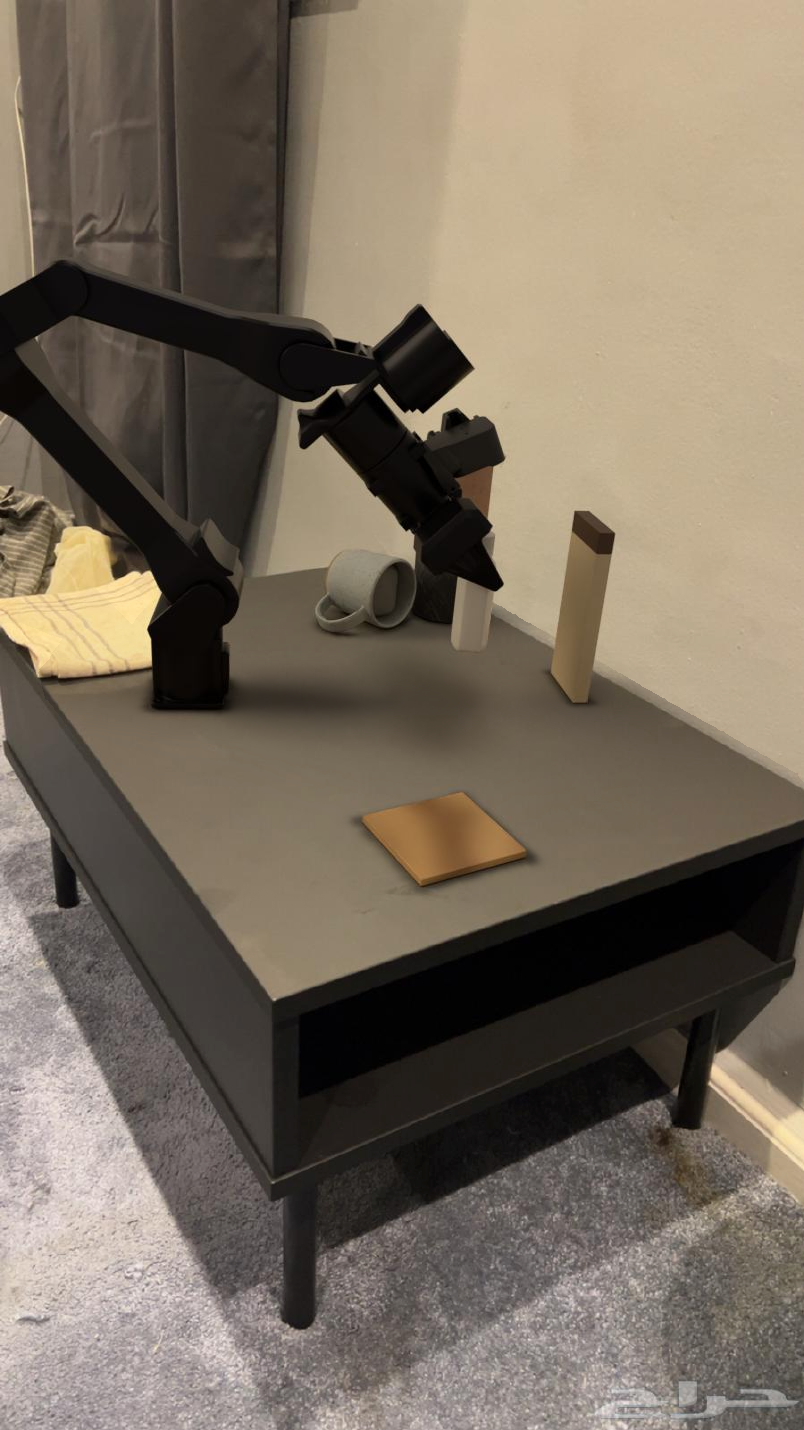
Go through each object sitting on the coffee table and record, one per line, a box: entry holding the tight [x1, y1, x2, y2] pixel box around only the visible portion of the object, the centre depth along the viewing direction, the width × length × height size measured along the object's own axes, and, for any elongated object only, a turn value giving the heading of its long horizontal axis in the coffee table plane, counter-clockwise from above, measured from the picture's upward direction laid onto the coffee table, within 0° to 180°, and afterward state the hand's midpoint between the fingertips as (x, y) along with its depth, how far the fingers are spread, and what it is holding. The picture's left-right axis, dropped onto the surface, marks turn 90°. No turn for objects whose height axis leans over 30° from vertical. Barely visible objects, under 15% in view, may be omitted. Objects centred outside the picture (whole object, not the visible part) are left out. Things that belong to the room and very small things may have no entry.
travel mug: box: [412, 430, 495, 624], centre depth 117 cm, size 8×8×20 cm
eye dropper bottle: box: [450, 517, 497, 654], centre depth 96 cm, size 4×6×12 cm
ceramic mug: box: [314, 548, 417, 633], centre depth 115 cm, size 11×8×8 cm
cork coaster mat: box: [362, 791, 528, 887], centre depth 79 cm, size 9×9×1 cm
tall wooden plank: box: [550, 510, 616, 704], centre depth 101 cm, size 2×7×17 cm, turn 10°
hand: (491, 576), depth 96 cm, fingers closed on eye dropper bottle, 5 cm apart
